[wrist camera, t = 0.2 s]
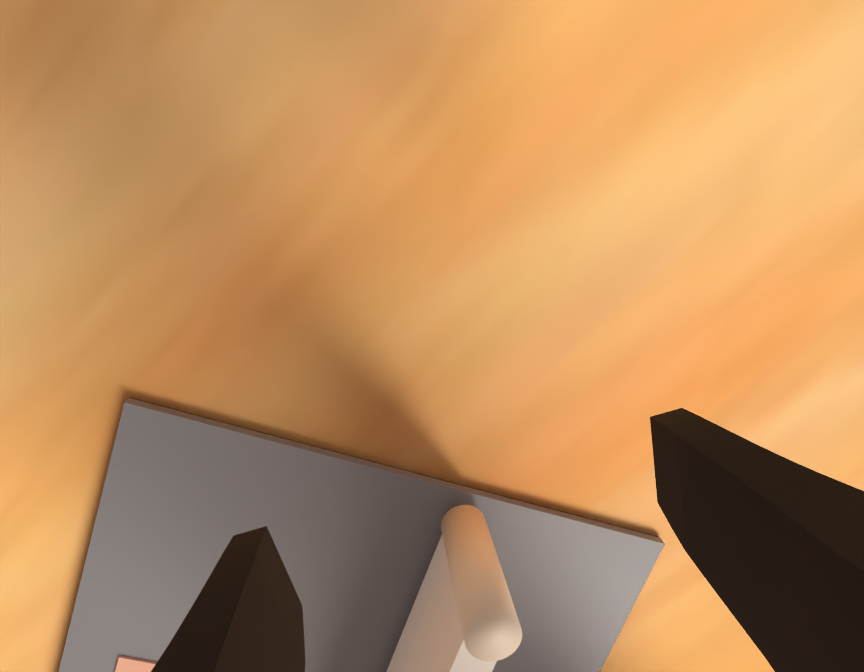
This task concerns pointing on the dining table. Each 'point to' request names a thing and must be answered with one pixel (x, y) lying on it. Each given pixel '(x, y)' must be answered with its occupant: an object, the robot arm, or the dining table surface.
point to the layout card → (327, 549)
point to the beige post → (460, 604)
